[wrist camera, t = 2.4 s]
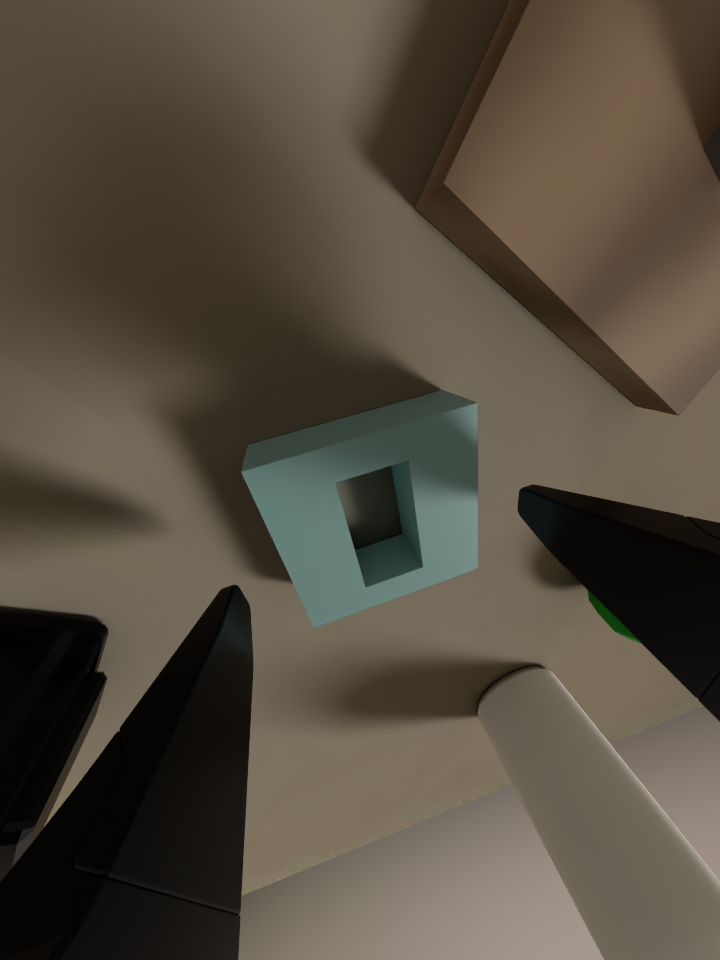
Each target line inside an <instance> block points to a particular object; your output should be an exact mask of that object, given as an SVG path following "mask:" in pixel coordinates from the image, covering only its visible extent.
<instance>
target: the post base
mask: <svg viewBox="0 0 720 960" xmlns="http://www.w3.org/2000/svg"><path fill="white" fill-rule="evenodd" d="M415 209H416V210H417V211H418V212H420V213H421V214H422V215H423V216H424V217H425V218H426V219H427V220H429V221H430V222H431V223H432V224H433V225H434V226H435V227H436V228H437V229H439V230H440V231H441V232H442V233H443V234H444V235H445V236H446V237H448V238H449V239H450V240H451V241H452V242H453V243H454V244H455V245H457V246H458V247H459V248H460V249H461V250H462V251H463V252H464V253H465V254H467V255H468V256H469V257H470V258H471V259H472V260H473V261H474V262H476V263H477V264H478V265H479V266H480V267H481V268H482V269H483V270H485V271H486V272H487V273H488V274H489V275H490V276H491V277H492V278H493V279H495V280H496V281H497V282H498V283H499V284H500V285H501V286H502V287H504V288H505V289H506V290H507V291H508V292H509V293H510V294H511V295H513V296H514V297H515V298H516V299H517V300H518V301H519V302H520V303H521V304H523V305H524V306H525V307H526V308H527V309H528V310H529V311H530V312H532V313H533V314H534V315H535V316H536V317H537V318H538V319H539V320H541V321H542V322H543V323H544V324H545V325H546V326H547V327H548V328H549V329H551V330H552V331H553V332H554V333H555V334H556V335H557V336H558V337H560V338H561V339H562V340H563V341H564V342H565V343H566V344H567V345H569V346H570V347H571V348H572V349H573V350H574V351H575V352H576V353H578V354H579V355H580V356H581V357H582V358H583V359H584V360H585V361H586V362H588V363H589V364H590V365H591V366H592V367H593V368H594V369H595V370H597V371H598V372H599V373H600V374H601V375H602V376H603V377H604V378H606V379H607V380H608V381H609V382H610V383H611V384H612V385H613V386H614V387H616V388H617V389H618V390H619V391H620V392H621V393H622V394H623V395H625V396H626V397H627V398H628V399H629V400H630V401H631V402H632V403H634V404H635V405H636V406H637V407H642V408H646V409H651V410H656V411H660V412H665V413H669V414H674V415H680V414H681V413H682V411H683V410H684V409H685V408H686V407H687V406H688V404H689V403H690V402H691V401H692V400H693V399H694V398H695V396H696V395H697V394H698V393H699V392H700V391H701V390H702V388H703V387H704V386H705V385H706V384H707V383H708V381H709V380H710V379H711V378H712V377H713V376H714V375H715V373H716V372H717V371H718V370H719V369H720V0H510V1H509V3H508V5H507V8H506V10H505V12H504V14H503V16H502V19H501V21H500V23H499V25H498V27H497V29H496V32H495V34H494V36H493V38H492V40H491V43H490V45H489V47H488V49H487V51H486V53H485V56H484V58H483V60H482V62H481V64H480V67H479V69H478V71H477V73H476V75H475V77H474V80H473V82H472V84H471V86H470V88H469V91H468V93H467V95H466V97H465V99H464V101H463V104H462V106H461V108H460V110H459V112H458V115H457V117H456V119H455V121H454V123H453V125H452V128H451V130H450V132H449V134H448V136H447V139H446V141H445V143H444V145H443V147H442V149H441V152H440V154H439V156H438V158H437V160H436V163H435V165H434V167H433V169H432V171H431V174H430V176H429V178H428V180H427V182H426V184H425V187H424V189H423V191H422V193H421V195H420V198H419V200H418V202H417V204H416V206H415Z"/></svg>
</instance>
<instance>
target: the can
mask: <svg viewBox="0 0 720 960" xmlns="http://www.w3.org/2000/svg"><path fill="white" fill-rule="evenodd" d="M478 717H479V720H480V722H481V724H482V726H483V728H484V730H485V732H486V734H487V736H488V737H489V739H490V741H491V743H492V745H493V747H494V749H495V751H496V753H497V755H498V757H499V759H500V761H501V763H502V765H503V767H504V769H505V770H506V772H507V774H508V776H509V778H510V780H511V782H512V784H513V786H514V788H515V790H516V792H517V794H518V796H519V797H520V799H521V801H522V803H523V805H524V807H525V809H526V811H527V813H528V815H529V817H530V819H531V821H532V823H533V824H534V826H535V828H536V830H537V832H538V834H539V836H540V838H541V840H542V842H543V844H544V846H545V847H546V849H547V851H548V853H549V855H550V857H551V859H552V861H553V863H554V865H555V867H556V869H557V871H558V872H559V874H560V876H561V878H562V880H563V882H564V884H565V886H566V888H567V890H568V892H569V894H570V896H571V897H572V899H573V901H574V903H575V905H576V907H577V909H578V911H579V913H580V915H581V916H582V918H583V920H584V922H585V924H586V926H587V928H588V930H589V932H590V934H591V936H592V937H593V939H594V941H595V943H596V945H597V947H598V949H599V951H600V953H601V954H602V956H603V958H604V960H720V881H719V880H718V878H717V877H716V876H715V875H714V873H713V872H712V871H711V869H710V868H709V867H708V866H707V865H706V863H705V862H704V861H703V859H702V858H701V857H700V856H699V854H698V853H697V852H696V851H695V849H694V848H693V847H692V846H691V844H690V843H689V842H688V841H687V839H686V838H685V837H684V836H683V834H682V833H681V832H680V831H679V830H678V828H677V827H676V826H675V824H674V823H673V822H672V821H671V819H670V818H669V817H668V816H667V814H666V813H665V812H664V810H663V809H662V808H661V807H660V806H659V804H658V803H657V802H656V800H655V799H654V798H653V797H652V796H651V794H650V793H649V792H648V791H647V789H646V788H645V787H644V786H643V784H642V783H641V782H640V781H639V779H638V778H637V777H636V776H635V775H634V773H633V772H632V771H631V769H630V768H629V767H628V766H627V764H626V763H625V762H624V761H623V760H622V758H621V757H620V756H619V754H618V753H617V752H616V751H615V750H614V748H613V747H612V746H611V744H610V743H609V742H608V741H607V739H606V738H605V737H604V736H603V734H602V733H601V732H600V731H599V729H598V728H597V727H596V726H595V724H594V723H593V722H592V721H591V719H590V718H589V717H588V716H587V714H586V713H585V712H584V711H583V710H582V708H581V707H580V706H579V705H578V703H577V702H576V701H575V700H574V698H573V697H572V696H571V695H570V693H569V692H568V691H567V690H566V689H565V687H564V686H563V685H562V684H561V682H560V681H559V680H558V679H557V678H556V676H555V675H554V674H553V673H552V672H551V671H549V670H546V669H544V668H542V667H538V666H532V667H526V668H522V669H519V670H516V671H514V672H512V673H510V674H508V675H506V676H504V677H503V678H501V679H499V680H498V681H497V682H495V683H494V684H493V685H492V686H490V687H489V688H488V689H487V690H486V691H485V693H484V694H483V695H482V697H481V698H480V701H479V704H478Z"/></svg>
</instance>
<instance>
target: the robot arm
mask: <svg viewBox="0 0 720 960" xmlns="http://www.w3.org/2000/svg"><path fill="white" fill-rule="evenodd" d="M518 512H519V515H520V516H521V518H522V519H523V520H524V521H525V522H526V524H527V525H528V526H529V527H530V529H531V530H532V531H533V532H534V533H535V535H536V536H537V537H538V538H539V539H540V541H541V542H542V543H543V544H544V545H545V547H546V548H547V549H548V550H549V551H550V552H551V554H552V555H553V556H554V557H555V558H556V559H557V560H558V561H559V562H560V563H561V564H562V565H563V566H564V567H565V568H566V569H567V570H568V571H569V572H570V573H571V574H572V575H573V576H574V577H575V578H576V579H577V580H578V581H579V582H580V583H581V584H582V585H583V586H584V587H585V588H586V589H587V590H588V591H589V592H590V593H591V594H592V595H593V596H594V597H595V598H596V599H597V600H598V601H599V602H600V603H601V604H602V605H603V606H604V607H605V608H606V609H607V610H608V611H609V612H610V613H611V614H612V615H613V616H614V617H615V618H616V619H617V620H618V621H619V622H620V623H621V624H622V625H624V626H625V627H626V628H627V629H628V630H629V631H630V632H631V633H632V634H633V635H634V636H635V637H636V638H637V639H638V640H639V641H640V642H641V643H642V644H643V645H644V646H645V647H646V648H647V649H648V650H649V651H650V652H651V653H652V654H653V655H654V656H655V657H656V658H657V659H658V660H659V661H660V662H661V663H662V664H663V665H664V666H665V667H666V668H667V669H668V670H669V671H670V672H671V673H672V674H673V675H674V676H675V677H676V678H677V679H678V680H679V681H680V682H681V683H682V684H683V685H684V686H685V687H686V688H687V689H688V690H689V691H690V692H691V693H692V694H693V695H694V696H695V697H696V698H698V700H699V701H700V702H701V703H702V704H703V705H704V706H705V707H706V708H707V709H708V710H709V711H710V712H711V713H712V714H713V715H714V716H715V717H716V718H717V719H718V720H719V721H720V523H718V522H713V521H708V520H703V519H698V518H693V517H689V516H688V517H685V516H683V515H679V514H674V513H669V512H664V511H659V510H655V509H650V508H645V507H640V506H635V505H630V504H626V503H621V502H616V501H611V500H606V499H602V498H597V497H592V496H587V495H582V494H577V493H573V492H568V491H563V490H558V489H553V488H549V487H544V486H539V485H529V486H526V487H523V488H521V489H520V491H519V498H518ZM107 636H108V628H107V627H106V626H105V625H103V624H101V623H97V622H91V621H81V620H71V619H61V618H51V617H41V616H31V615H21V614H10V613H0V960H238V951H239V934H240V916H239V914H240V909H241V891H242V873H243V854H244V835H245V816H246V797H247V779H248V760H249V741H250V722H251V703H252V684H253V646H252V629H251V612H250V606H249V603H248V601H247V599H246V598H245V596H244V594H243V593H242V591H241V590H240V588H239V587H238V586H237V585H231V586H229V587H226V588H223V589H221V590H220V591H219V593H218V594H217V595H216V597H215V598H214V599H213V601H212V602H211V604H210V605H209V606H208V608H207V609H206V610H205V612H204V613H203V615H202V616H201V617H200V619H199V620H198V621H197V623H196V624H195V625H194V627H193V628H192V630H191V631H190V632H189V634H188V635H187V636H186V638H185V639H184V641H183V642H182V643H181V645H180V646H179V647H178V649H177V650H176V652H175V653H174V654H173V656H172V657H171V658H170V660H169V661H168V663H167V664H166V665H165V667H164V668H163V669H162V671H161V672H160V674H159V675H158V676H157V678H156V679H155V680H154V682H153V683H152V685H151V686H150V687H149V689H148V690H147V691H146V693H145V694H144V695H143V697H142V698H141V700H140V701H139V702H138V704H137V705H136V706H135V708H134V709H133V711H132V712H131V713H130V715H129V716H128V717H127V719H126V720H125V722H124V723H123V724H122V726H121V727H120V731H118V732H117V733H116V734H115V735H114V736H113V738H112V739H111V741H110V742H109V743H108V745H107V746H106V747H105V749H104V750H103V752H102V753H101V754H100V756H99V757H98V758H97V760H96V761H95V762H94V764H93V765H92V766H91V768H90V769H89V770H88V772H87V773H86V774H85V776H84V777H83V778H82V780H81V781H80V782H79V784H78V785H77V786H76V788H75V789H74V790H73V791H72V793H71V794H70V795H69V797H68V798H67V799H66V800H65V802H64V803H63V804H62V805H61V807H60V808H59V809H58V810H57V812H56V813H55V814H54V816H53V817H52V818H51V819H50V821H49V822H48V823H47V824H46V826H45V827H44V825H45V823H46V821H47V819H48V817H49V815H50V812H51V810H52V808H53V806H54V804H55V802H56V800H57V797H58V795H59V793H60V791H61V789H62V787H63V785H64V782H65V780H66V778H67V776H68V774H69V772H70V770H71V768H72V765H73V763H74V761H75V759H76V757H77V755H78V753H79V750H80V748H81V746H82V744H83V742H84V740H85V738H86V735H87V733H88V731H89V729H90V727H91V725H92V723H93V720H94V718H95V716H96V713H97V710H98V707H99V703H100V700H101V697H102V694H103V690H104V687H105V684H106V681H107V677H106V676H105V674H104V672H98V667H99V664H100V660H101V657H102V653H103V650H104V646H105V643H106V639H107ZM43 827H44V828H43Z"/></svg>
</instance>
